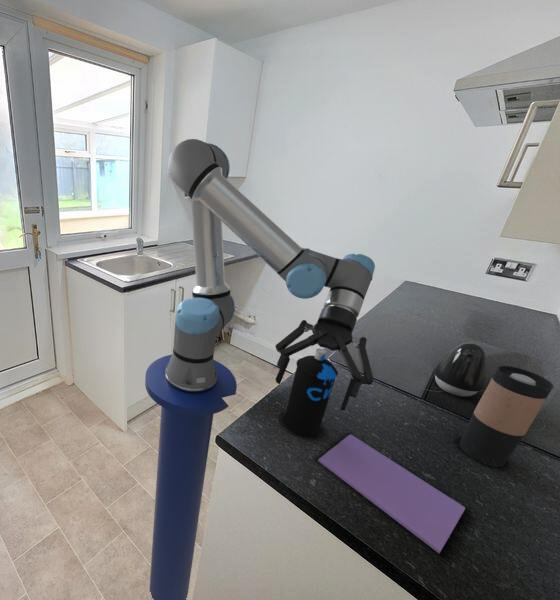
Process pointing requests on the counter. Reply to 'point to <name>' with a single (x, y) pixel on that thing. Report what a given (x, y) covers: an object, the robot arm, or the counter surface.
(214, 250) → the robot arm
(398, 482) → the towel
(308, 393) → the aerosol can
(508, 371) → the travel mug
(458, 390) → the black egg-shaped dome
